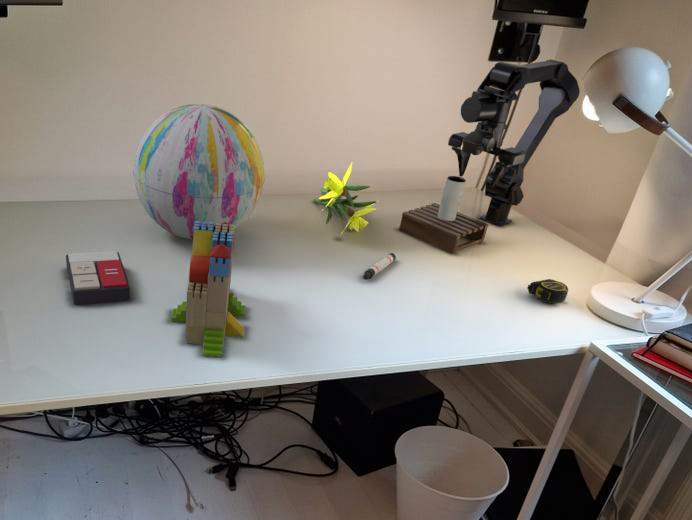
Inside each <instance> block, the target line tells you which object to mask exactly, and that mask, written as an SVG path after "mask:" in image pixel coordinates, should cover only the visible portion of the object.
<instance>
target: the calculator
mask: <svg viewBox="0 0 692 520" xmlns="http://www.w3.org/2000/svg"><path fill="white" fill-rule="evenodd" d="M65 263H66V272H67V273H66V274H67V278H68V282H69V286H70V293H71V297H72V301H73V304H74V305H85V304H99V303H100V304H101V303H109V302H110V303H111V302H121V301H122V302H123V301H130V300H131V286H130V283H129V280H128V277H127V273H126V271H125V267H124V264H123V262H122V258H121V255H120V252H118V251H116V250H115V251H113V250H111V251H93V252H77V253H76V252H75V253H68V254H66V255H65Z"/></svg>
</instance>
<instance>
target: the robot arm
mask: <svg viewBox="0 0 692 520" xmlns="http://www.w3.org/2000/svg"><path fill="white" fill-rule="evenodd" d="M534 83H539V88H540V91H541V92H540V94H539V96H538V110H537V111H536V113H535V114H534V116H533V117H532V119H531V121H530V122H529V124H528V126H527V127H526V129H525V130H524V132H523V134H522V135H521V137H520V138H519V140H518V142H517V143H516V144H515V147H513V146H511V147H507V148H501V146H503V141H502V137H503V134H504V131H505V130H507V129H508V126H509V125H508V124H507V121H508V117H509V114H510V111H511V108H512V104H513V101H518V100H519V96H518V95H517V93H516V92H518V91H521V90H522V89H524V88H525V86H526V85H529V84H534ZM580 92H581V91H580V86H579V82H578V79H577V78H576V77H575V76H574V74H572V72H571V71H570V70H569V67H568V64H567V63H566V62H564V61H560V60H555V59H547V60H544V61H538V62H530V63H524V64H517V63H511V62H506V61H505V62H504V61H498V62H496V63H495V64H494V66H493V67H492V68H491V69H489V72H488V73H487V75H486V76H485V77H484V79H483V80H482V82H481V83H480V85H478V87H477V89H476V91H475V90H474V91H472V93H471V96H470V97H467V98H466V99H464V101H463V103H462V104H461V106H460V116H461V119H462V120H463V121H464V122H465V123H467V124H473V123H477V124H476V127H475V129H474V130H473V131H471V132H469V133H468V132H464V131H461V132H456V133H453V134H451V135H450V136H449V138H448V141H447V146H450V147H451V150H452V151H454V153H455V154H456V157H457V162H458V164H457V165H458V177H461V178H463V176H464V174H465V173H466V170H467V167H468V164H469V161H470V158H471V155H473V156H479V155H481V154H482V153H483V152H484V153H486V154H490V155H493V156H496V157H497V160H498V161H496V162H495V164H494V166H493V168H492V170H491V171H490V173H488V176H487V178H486V179H485V186H484V196H486V197H489V198H490V201H489V204H488V208H487V211H486V214H484V215H482V216H480V217H479V219H480V220H482V221H485V222H487V223H490V224H492V225H494V226H497V227H502V226H505V225H507V224H510V223H512V222H513V220H512V219H510V218H508V217H509V214H510V212H511V210H512V206H517V207H518V205H520V204H521V203H522V201H523V199H524V193H523V189H522V188H521V186H522V184H523V183H524V171H525V170H524V169H525V168H526V166H527V164H528V163H529V162H530V160H531V158H532V156H533V155H534V153H535V152H536V151H537V149H538V147H539V146H540V144H541V142H542V140H543V139H544V138H545V136H546V134H547V133H548V131H549V130H550V128H551V127H552V125H553V124H554V121H555V120H556V119H557V118H559V117H560V116H562V115H564V114H565V113H567V112H568V111H569V110H570V108H572V106H573V105H574V103H575V102H576V101H577V100H578V98H579V96H580Z"/></svg>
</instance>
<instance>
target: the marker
mask: <svg viewBox="0 0 692 520" xmlns="http://www.w3.org/2000/svg"><path fill="white" fill-rule="evenodd" d="M396 259H397V256H396V254H395V253H394V252H390V253H388V254H387V255H385V256H384V257H382V258H381V259H380V260H379V261H377V262H376V263H374V264H373V265H371V266H370V267H369V268H368V269H367V270H365V271H364V273H363V275H362V279H363V280H370V279H372V278H374V277H375V276H377V274H379V273H380V272H381V271H382V270H384V269H385V268H386V267H388V266H389V265H390V264H392V263H393V262H394V261H396Z"/></svg>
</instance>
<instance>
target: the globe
mask: <svg viewBox="0 0 692 520" xmlns="http://www.w3.org/2000/svg"><path fill="white" fill-rule="evenodd" d="M264 163H265V162H264V158H263V153H262V150H261V147H260V145H259V143H258V141H257V139H256V137H255V135H254V134H253V133H252V131H251V130H250V128H249V127H248V126H247V125H246V124H245V123H244V122H243V121H242V120H241V119H239V117H237V116H236V115H234V114H233V113H231V112H229V111H227V110H226V109H224V108H222V107H218V106H215V105H211V104H205V103H191V104H185V105H181V106H177V107H175V108H172V109H171V110H168V111H166V112H165V113H163V114H162V115H160V116H158V117H157V118H156V120H154V121H153V122H152V123H151V124H150V126H149V127H148V128H147V129H146V130H145V132H144V133H143V135H142V137H141V139H140V141H139V143H138V145H137V147H136V150H135V155H134V160H133V170H132V174H133V182H134V188H135V191H136V195H137V197H138V199H139V201H140V203H141V205H142V207H143V209H144V210H145V212H146V213H147V215H148V216H149V217H150V219H152V220H153V221H154V222H155V223H156V224H157V225H158V226H159V227H161V228H162V229H164V230H165V231H166V232H169V233H170V234H172V235H174V236H177V237H180V238H182V239H185V240H192V241H193V233H194V225H195V221H200V226H201V225H202V223H203V222H207V227H208V226H209V222H213V223H214V226H215V225H216V223H219V224H221V223H223V222H226V223H228V224H229V225H235V230H237V229H238V228H239V227H241V225H243V224H244V223H246V221H247V220H248V219H249V218H250V216H251V215H252V214H253V212H254V211H255V209H256V208H257V206H258V204H259V201H260V199H261V196H262V194H263V189H264V183H265V164H264ZM201 227H202V226H201Z"/></svg>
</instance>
